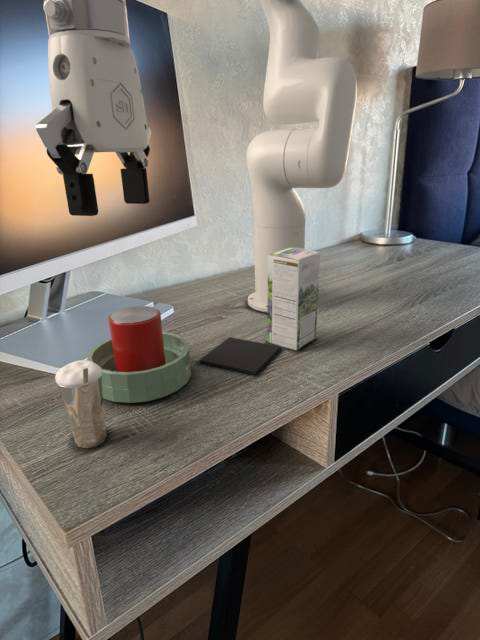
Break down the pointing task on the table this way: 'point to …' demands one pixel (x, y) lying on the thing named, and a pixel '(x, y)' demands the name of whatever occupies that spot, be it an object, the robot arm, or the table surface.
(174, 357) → the dish
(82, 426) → the milkshake
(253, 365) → the coaster
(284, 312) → the syrup box
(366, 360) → the table surface
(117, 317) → the can
